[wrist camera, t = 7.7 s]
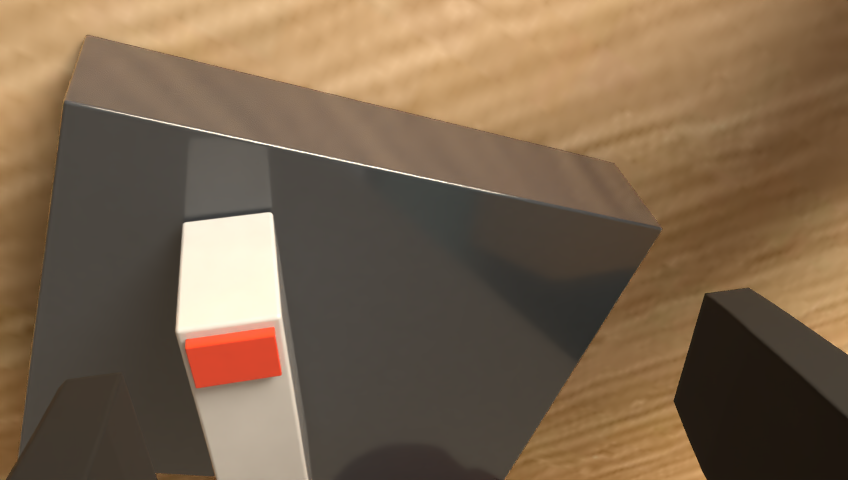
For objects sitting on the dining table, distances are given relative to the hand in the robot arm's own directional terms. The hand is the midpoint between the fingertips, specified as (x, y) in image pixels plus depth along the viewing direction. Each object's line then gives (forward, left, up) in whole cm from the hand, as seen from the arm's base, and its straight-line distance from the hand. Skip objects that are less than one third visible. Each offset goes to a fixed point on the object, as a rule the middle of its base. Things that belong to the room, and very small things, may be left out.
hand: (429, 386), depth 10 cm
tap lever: (-1, +6, -7) cm, 9 cm away
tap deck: (-3, +5, -10) cm, 11 cm away
